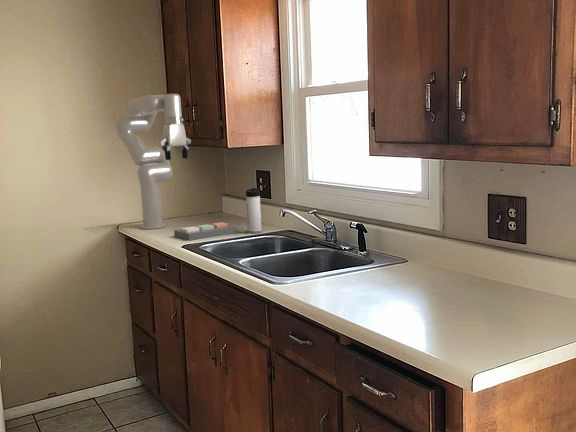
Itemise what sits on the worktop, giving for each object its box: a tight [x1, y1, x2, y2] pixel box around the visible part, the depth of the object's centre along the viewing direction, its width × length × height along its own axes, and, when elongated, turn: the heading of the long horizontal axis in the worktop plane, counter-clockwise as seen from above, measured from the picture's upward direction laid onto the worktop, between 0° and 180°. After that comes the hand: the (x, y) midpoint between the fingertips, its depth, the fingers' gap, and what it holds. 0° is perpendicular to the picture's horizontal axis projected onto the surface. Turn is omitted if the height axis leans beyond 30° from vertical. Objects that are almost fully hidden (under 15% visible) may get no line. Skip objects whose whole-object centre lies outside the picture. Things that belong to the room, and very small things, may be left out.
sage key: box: [195, 223, 214, 230], centre depth 296 cm, size 6×6×2 cm
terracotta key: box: [209, 221, 229, 228], centre depth 301 cm, size 6×6×2 cm
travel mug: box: [245, 187, 262, 235], centre depth 297 cm, size 6×7×20 cm
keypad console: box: [173, 224, 237, 242], centre depth 296 cm, size 14×24×3 cm, turn 127°
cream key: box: [180, 226, 199, 233], centre depth 292 cm, size 6×6×2 cm
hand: (176, 159), depth 299 cm, fingers open, 9 cm apart
